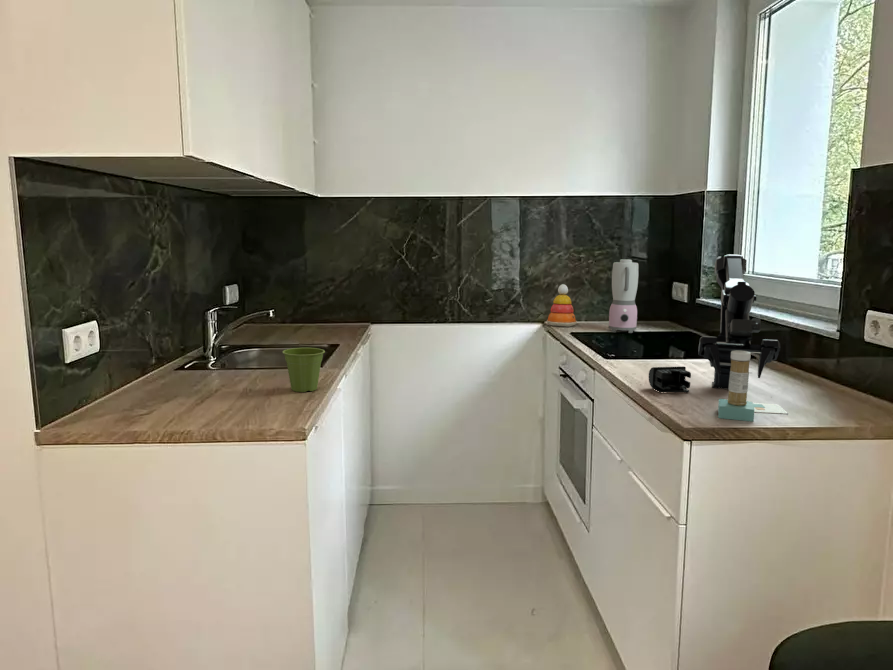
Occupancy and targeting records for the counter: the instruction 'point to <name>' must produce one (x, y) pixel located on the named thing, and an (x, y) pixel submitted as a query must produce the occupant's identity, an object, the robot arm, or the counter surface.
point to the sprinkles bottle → (739, 377)
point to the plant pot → (303, 367)
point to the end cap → (669, 379)
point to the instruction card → (768, 408)
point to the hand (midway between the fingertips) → (739, 375)
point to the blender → (624, 296)
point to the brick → (735, 411)
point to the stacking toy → (562, 310)
